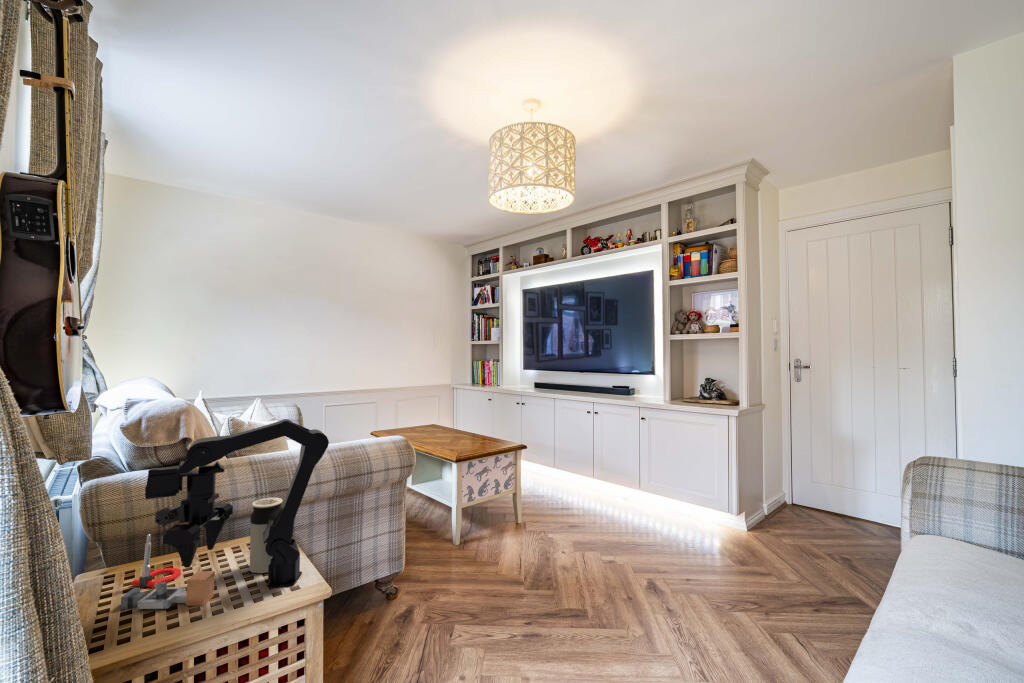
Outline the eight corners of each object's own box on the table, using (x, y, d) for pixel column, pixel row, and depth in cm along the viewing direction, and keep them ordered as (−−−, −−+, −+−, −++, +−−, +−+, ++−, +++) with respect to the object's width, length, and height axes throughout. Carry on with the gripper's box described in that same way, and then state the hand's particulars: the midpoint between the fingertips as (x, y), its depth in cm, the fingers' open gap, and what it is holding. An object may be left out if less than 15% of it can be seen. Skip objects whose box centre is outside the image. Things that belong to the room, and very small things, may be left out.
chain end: (216, 593, 110) (217, 568, 110) (200, 608, 104) (202, 582, 104) (156, 593, 109) (158, 568, 109) (137, 608, 102) (139, 582, 102)
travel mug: (267, 575, 119) (268, 507, 119) (242, 572, 120) (243, 505, 121) (288, 562, 126) (290, 498, 127) (265, 558, 128) (266, 495, 129)
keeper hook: (171, 597, 108) (171, 579, 108) (159, 607, 104) (160, 587, 104) (133, 599, 107) (134, 580, 107) (120, 609, 103) (121, 589, 103)
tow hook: (161, 570, 122) (127, 586, 113) (165, 522, 123) (131, 534, 114) (188, 573, 121) (156, 589, 112) (191, 524, 122) (160, 536, 112)
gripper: (189, 481, 115) (187, 542, 115) (136, 506, 97) (134, 579, 97) (234, 481, 117) (233, 541, 116) (191, 505, 98) (189, 577, 98)
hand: (199, 558), depth 107 cm, fingers open, 9 cm apart
